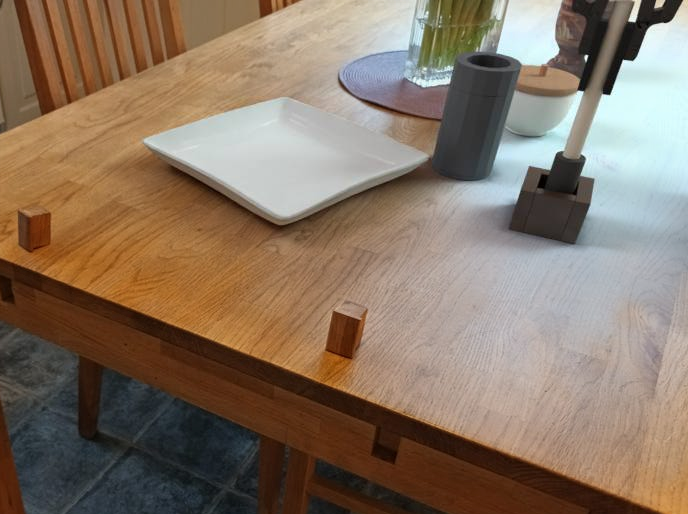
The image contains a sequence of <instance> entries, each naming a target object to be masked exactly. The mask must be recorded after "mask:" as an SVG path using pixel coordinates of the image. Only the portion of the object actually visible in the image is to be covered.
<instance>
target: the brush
mask: <svg viewBox="0 0 688 514" xmlns="http://www.w3.org/2000/svg"><path fill="white" fill-rule="evenodd" d="M635 3H636V1H635V0H615V1H614V4H613V7H612V10H611V13H610V16H609V19H608V24H607V27H606V30H605V33H604V36H603V39H602V42H601V45H600V48H599V51H598V54H597V57H596V60H595V63H594V66H593V69H592V72H591V75H590V77H589V80H588V83H587V86H586V89H585V92H584V91H583V93H582V96H581V98H580V101H579V105H578V108H577V110H576V113H575V115H574V119H573V123H572V126H571V128H570V132H569V134H568V137H567V140H566V143H565V146H564V149H563V150H560V151H557V152H556V153H555V155H554V157H553V158H554V159H553V161H552V164H551V167H550V169H549V170H550V173H549V176H548V179H547V182H546V185H545V188H544V189H546V190H551V191H555V192H560V193H565V194H570V195H573V194H574V192H575V189H576V186H577V183H578V181H579V178H580V176H582V173H583V169H584V167H585V164H586V162H587V157H586V156H585V155H583V154H582V152H583V150H584V147H585V144H586V141H587V138H588V135H589V133H590V130H591V128H592V124H593V122H594V120H595V115H596V114H597V110H598V108H599V104H600V102H601V99H602V97H603V95H604V94H603V90H604V87H605V84H606V81H607V79H608V76H609V73H610V70H611V67H612V65H613V62H614V59H615V56H616V53H617V50H618V48H619V45H620V42H621V39H622V36H623V33H624V31H625V28H626V25H627V23H628V21H630V18H631V15H632V12H633V9H634V6H635V5H636V4H635Z"/></svg>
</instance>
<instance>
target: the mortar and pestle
mask: <svg viewBox="0 0 688 514" xmlns="http://www.w3.org/2000/svg"><path fill="white" fill-rule="evenodd" d="M591 1H593V2H594V1H595V0H591ZM614 1H615V0H609V2H608V4H607V6H606V9H605V11H604V13H603V16H602V18H605V19H609V16H610V13H611V10H612V7H613V4H614ZM572 2H573V0H561V3H560V8H559V10H558V13H557V18H556V20H555V21H556V22H555V29H554V39H555V42H556V45H557V47H558V49H559V50H558V52H557V54H556V55H555V56H554V57H551V58H550V59H549V60H547V62H546V63H545V64H548V65H549V67H550V68H555V69H559V70H563V71H566V72H568V73H571V74H573V75H575V76H576V77H578V78H579V79H581V76H582V73H583V70H584V67H585V64H586V61H587V60H586V58H585V57H586V55H582V54H579V53H578V48H579V45H580V41H581V38H582V35H583V32H584V29H585V26H586V19H585V17H584V16H582V15H580V14H578V13H574V12H573V11H572Z"/></svg>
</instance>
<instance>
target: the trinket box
mask: <svg viewBox="0 0 688 514" xmlns="http://www.w3.org/2000/svg"><path fill="white" fill-rule="evenodd" d="M579 82H580V79H579V78H578V77H576V76H575V75H573V74H571V73H568V72H566V71H563V70H559V69H555V68H550V67H549V65H548V64H546V63H542V64H541V65H532V64H527V65H526V64H525V65H523V64H522V67H521V71H520V74H519V78H518V81H517V85H516V88H515V92H514V95H513V99H512V102H511V106H510V109H509V113H508V116H507V120H506V123H505V127H504V129H505V130H506V131H509V132H511V133H513V134H515V135H519V136H522V137H523V136H524V137H534V138H535V137H536V138H537V137H541V136H545V135H547V133H548V132H550V131H551V130H553V129H555V128H556V127H558V126H559V125H560V124H561V123H562V122H563V121H564V120H565V119H566V117H567V115H568V114H569V112H570V110H571V109H572V106H573V105H574V102H575V100H576V98H577V94H578V92H579V91H577V89H578V85H579Z"/></svg>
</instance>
